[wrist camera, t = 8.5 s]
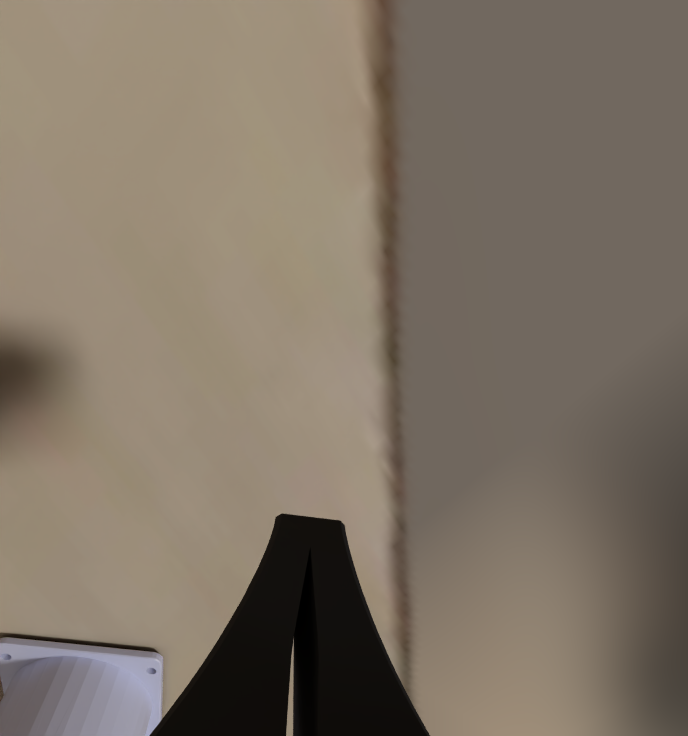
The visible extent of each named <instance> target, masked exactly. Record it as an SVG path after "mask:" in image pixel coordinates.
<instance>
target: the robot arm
mask: <svg viewBox="0 0 688 736" xmlns="http://www.w3.org/2000/svg"><path fill="white" fill-rule="evenodd" d="M293 639H294V695H293V736H430V735H429V733H428V731H427V730H426V728H425V726H424V724H423V723H422V721H421V719H420V717H419V715H418V714H417V712H416V710H415V708H414V706H413V704H412V703H411V701H410V699H409V697H408V695H407V693H406V691H405V689H404V687H403V685H402V683H401V681H400V679H399V677H398V675H397V673H396V671H395V669H394V667H393V665H392V663H391V661H390V658H389V656H388V654H387V652H386V649H385V647H384V645H383V643H382V640H381V638H380V636H379V633H378V631H377V629H376V626H375V624H374V621H373V619H372V616H371V613H370V611H369V608H368V605H367V603H366V600H365V597H364V595H363V592H362V589H361V586H360V583H359V580H358V577H357V574H356V571H355V567H354V564H353V561H352V557H351V553H350V550H349V546H348V541H347V537H346V532H345V525H344V524H343V523H342V522H341V521H339V520H331V519H323V518H314V517H306V516H298V515H289V514H280V515H279V516H277V517H276V519H275V524H274V528H273V531H272V534H271V538H270V540H269V543H268V546H267V548H266V551H265V553H264V555H263V558H262V560H261V562H260V565H259V567H258V569H257V571H256V573H255V575H254V577H253V579H252V581H251V583H250V585H249V587H248V589H247V591H246V593H245V595H244V597H243V599H242V600H241V602H240V604H239V606H238V607H237V609H236V611H235V613H234V614H233V616H232V618H231V619H230V621H229V623H228V624H227V626H226V628H225V630H224V631H223V633H222V635H221V636H220V638H219V639H218V641H217V643H216V644H215V646H214V647H213V649H212V650H211V652H210V653H209V655H208V656H207V658H206V660H205V661H204V662H203V664H202V665H201V667H200V668H199V670H198V671H197V673H196V674H195V676H194V677H193V678H192V680H191V681H190V683H189V684H188V685H187V687H186V688H185V690H184V691H183V692H182V694H181V695H180V696H179V698H178V699H177V700H176V702H175V703H174V704H173V706H172V707H171V708H170V710H169V711H168V712H167V714H166V715H165V716H164V718H163V719H162V692H163V657H162V656H161V655H160V654H159V653H156V652H150V651H140V650H130V649H120V648H110V647H100V646H90V645H80V644H70V643H61V642H51V641H41V640H31V639H21V638H11V637H3V638H0V678H1V683H2V688H3V693H4V696H3V698H2V700H1V702H0V736H286V726H287V710H288V695H289V681H290V667H291V654H292V646H293Z"/></svg>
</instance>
